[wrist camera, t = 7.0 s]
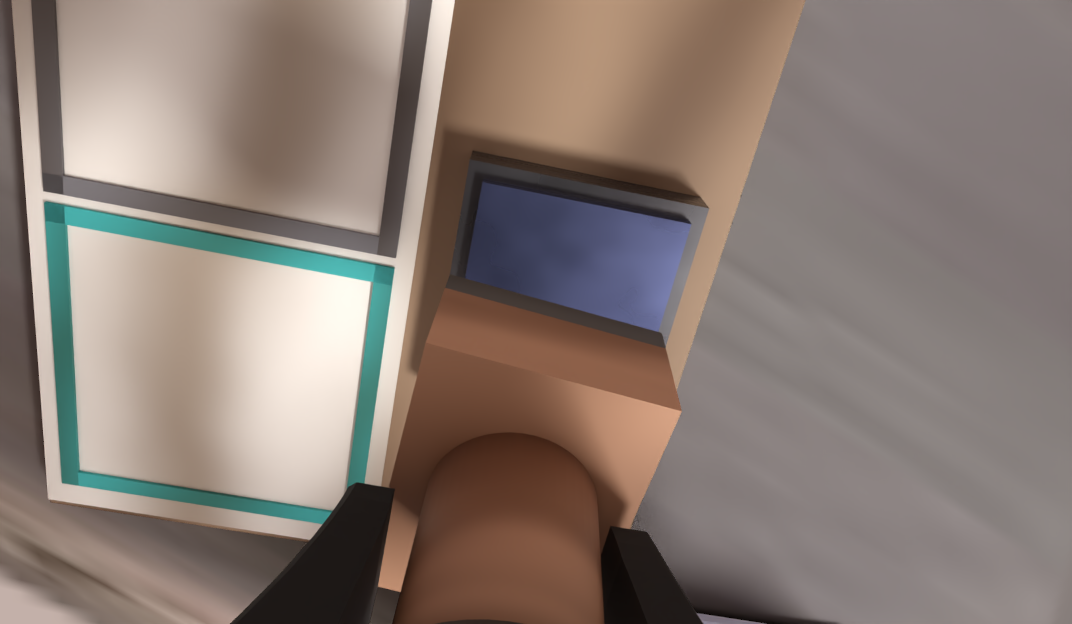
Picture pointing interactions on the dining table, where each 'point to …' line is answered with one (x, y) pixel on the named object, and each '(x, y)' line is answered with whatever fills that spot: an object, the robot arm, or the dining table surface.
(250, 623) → the robot arm
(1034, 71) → the dining table surface
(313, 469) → the stamping board
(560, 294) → the ink pad
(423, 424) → the stamp
